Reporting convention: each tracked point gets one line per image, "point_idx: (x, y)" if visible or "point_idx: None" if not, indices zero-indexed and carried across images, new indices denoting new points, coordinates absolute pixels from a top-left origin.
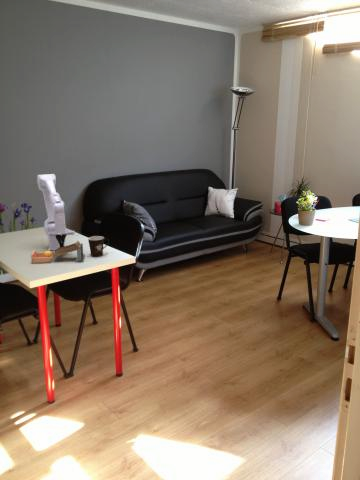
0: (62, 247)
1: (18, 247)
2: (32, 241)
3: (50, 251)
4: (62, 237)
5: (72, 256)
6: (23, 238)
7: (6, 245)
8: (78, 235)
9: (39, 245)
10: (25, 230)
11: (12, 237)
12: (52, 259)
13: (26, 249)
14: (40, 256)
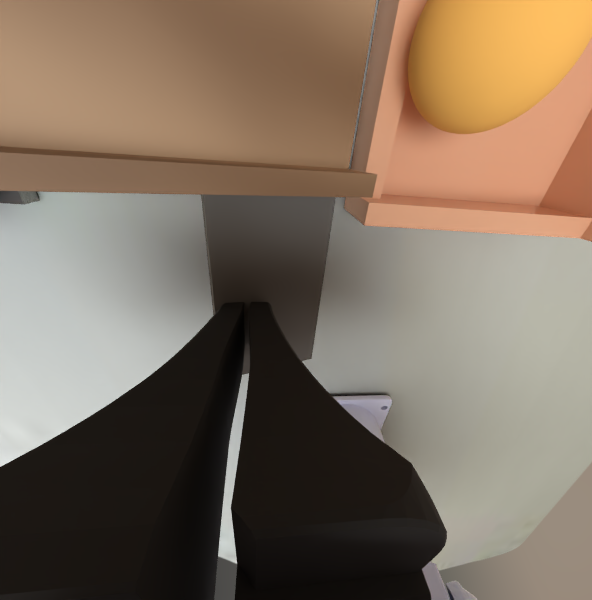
0: (183, 161)
1: (539, 447)
2: (443, 505)
3: (464, 61)
4: (67, 513)
5: (115, 198)
6: (469, 526)
7: (576, 469)
8: (223, 556)
9: (422, 467)
10: (438, 570)
11: (506, 531)
12: (373, 53)
13: (513, 420)
14: (506, 204)
